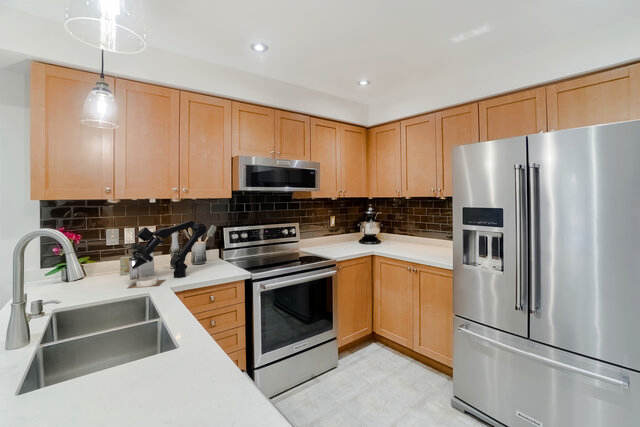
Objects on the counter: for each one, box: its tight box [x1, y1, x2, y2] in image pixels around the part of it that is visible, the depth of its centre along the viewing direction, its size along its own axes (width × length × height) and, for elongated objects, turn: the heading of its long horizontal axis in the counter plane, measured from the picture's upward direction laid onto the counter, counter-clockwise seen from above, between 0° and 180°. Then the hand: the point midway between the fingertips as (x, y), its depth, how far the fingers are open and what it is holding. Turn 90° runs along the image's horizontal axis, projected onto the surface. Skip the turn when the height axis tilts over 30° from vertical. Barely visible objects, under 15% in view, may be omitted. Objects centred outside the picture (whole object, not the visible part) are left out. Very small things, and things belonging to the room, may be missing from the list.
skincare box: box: [119, 255, 133, 276], centre depth 202 cm, size 6×4×12 cm
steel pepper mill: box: [129, 256, 140, 281], centre depth 169 cm, size 5×5×12 cm
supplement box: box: [139, 252, 155, 278], centre depth 197 cm, size 9×9×15 cm
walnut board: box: [126, 279, 167, 289], centre depth 174 cm, size 17×15×1 cm
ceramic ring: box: [134, 276, 159, 288], centre depth 174 cm, size 11×11×3 cm
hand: (131, 267), depth 168 cm, fingers closed on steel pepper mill, 5 cm apart
